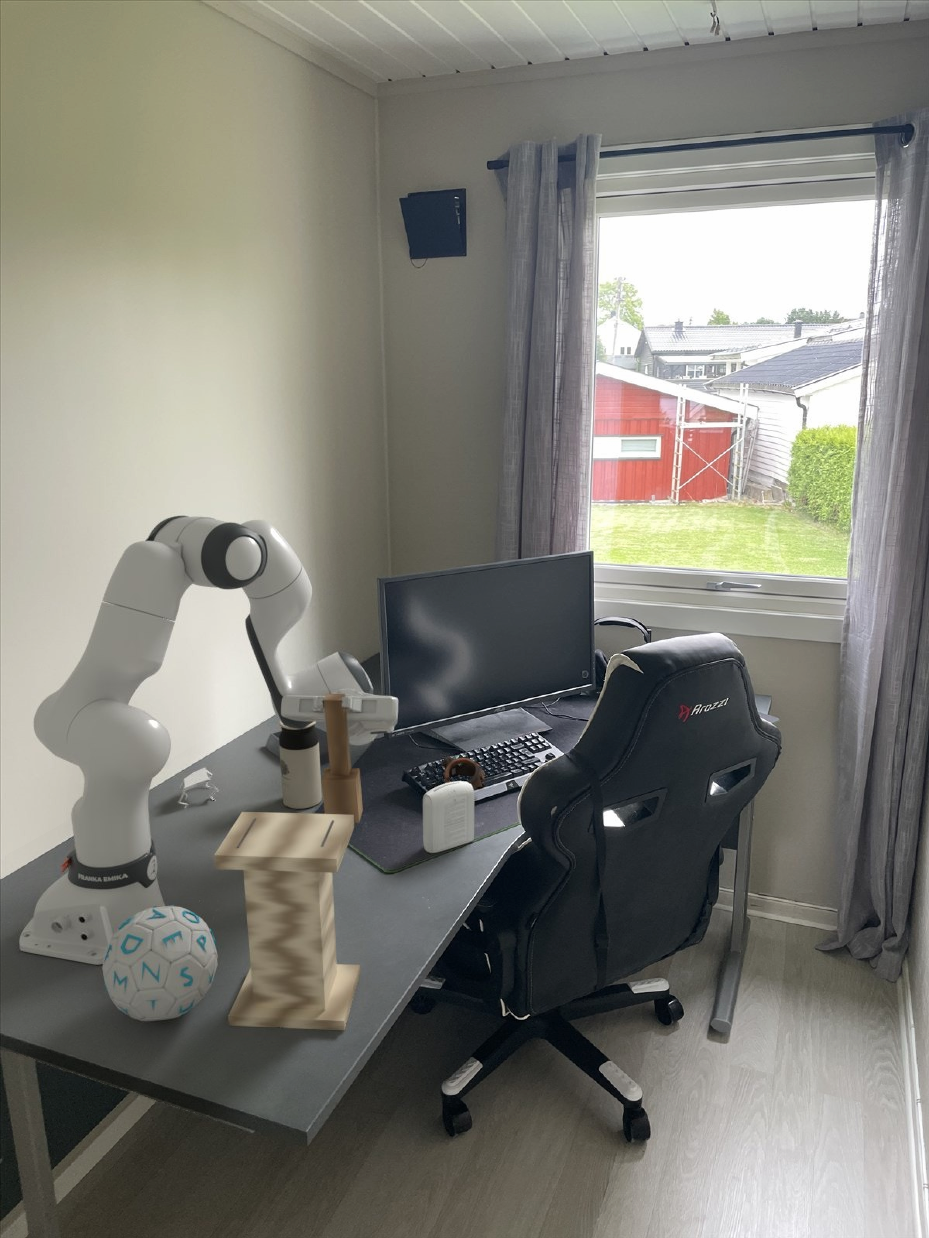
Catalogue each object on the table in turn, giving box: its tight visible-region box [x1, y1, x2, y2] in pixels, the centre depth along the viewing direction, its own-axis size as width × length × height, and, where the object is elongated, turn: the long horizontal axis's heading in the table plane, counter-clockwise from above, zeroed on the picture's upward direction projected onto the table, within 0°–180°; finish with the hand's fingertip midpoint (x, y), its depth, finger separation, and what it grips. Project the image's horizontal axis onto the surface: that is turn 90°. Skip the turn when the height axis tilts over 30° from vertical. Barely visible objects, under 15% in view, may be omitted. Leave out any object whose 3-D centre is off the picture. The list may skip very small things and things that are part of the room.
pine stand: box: [213, 811, 361, 1031], centre depth 126 cm, size 16×12×26 cm
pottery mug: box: [442, 755, 486, 790], centre depth 193 cm, size 12×10×8 cm
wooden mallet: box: [321, 694, 364, 824], centre depth 156 cm, size 6×24×4 cm
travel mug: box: [278, 720, 323, 810], centre depth 186 cm, size 8×8×18 cm
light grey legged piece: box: [177, 767, 220, 809], centre depth 190 cm, size 12×8×5 cm
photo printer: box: [422, 780, 475, 854], centre depth 170 cm, size 10×4×12 cm, turn 123°
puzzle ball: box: [102, 904, 219, 1022], centre depth 125 cm, size 15×15×15 cm
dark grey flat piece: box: [265, 726, 330, 769], centre depth 213 cm, size 13×19×4 cm
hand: (332, 701), depth 150 cm, fingers closed on wooden mallet, 3 cm apart
